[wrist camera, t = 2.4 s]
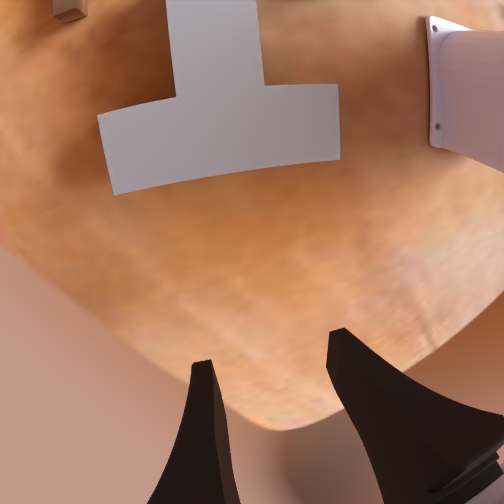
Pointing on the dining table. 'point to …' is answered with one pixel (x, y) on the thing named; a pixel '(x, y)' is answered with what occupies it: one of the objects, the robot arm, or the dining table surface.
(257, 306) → the dining table surface
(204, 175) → the tee block
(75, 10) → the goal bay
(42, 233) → the dining table surface
